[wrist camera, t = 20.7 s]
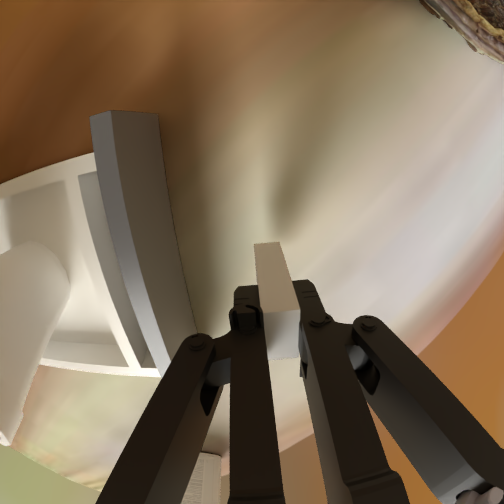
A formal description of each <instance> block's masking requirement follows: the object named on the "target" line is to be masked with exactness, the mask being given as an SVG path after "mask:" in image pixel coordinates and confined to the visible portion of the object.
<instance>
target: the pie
mask: <svg viewBox="0 0 504 504" xmlns="http://www.w3.org/2000/svg"><path fill="white" fill-rule="evenodd" d="M419 1H420V3H421V4H422V5H423V6H424V7H425V8H426V9H427V10H428V11H429V12H430V13H431V14H433V15H436V17H437V18H438V19H442V20H443V21H444V22H446V23H447V25H448V26H449V27H450V28H451V29H455V30H456V31H457V32H458V33H459V34H460V35H462V36H463V37H464V38H465V40H466V41H467V43H468V45H469V46H470V47H471V48H472V49H473V50H474V51H475V52H478V53H480V54H482V55H484V54H485V55H487V56H488V57H490V58H492V59H493V60H495V61H497V62H499V63H501V64H503V65H504V0H419Z"/></svg>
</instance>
